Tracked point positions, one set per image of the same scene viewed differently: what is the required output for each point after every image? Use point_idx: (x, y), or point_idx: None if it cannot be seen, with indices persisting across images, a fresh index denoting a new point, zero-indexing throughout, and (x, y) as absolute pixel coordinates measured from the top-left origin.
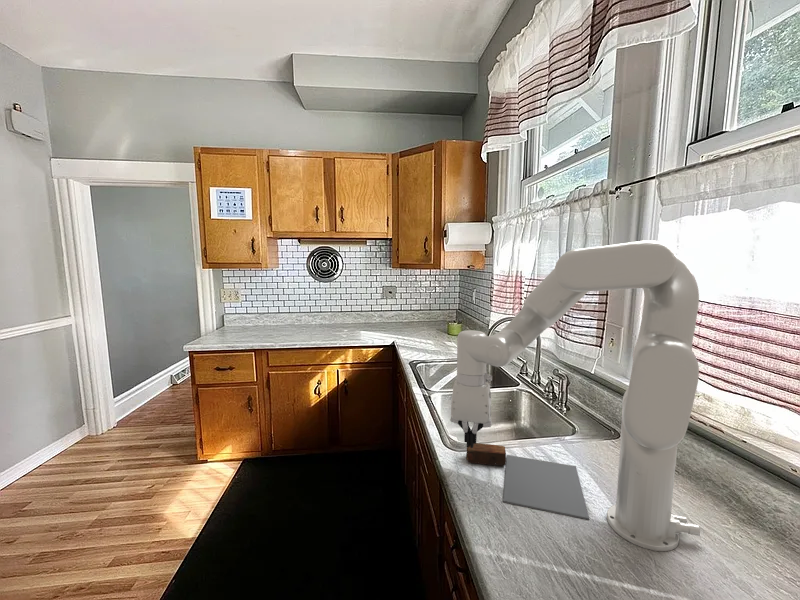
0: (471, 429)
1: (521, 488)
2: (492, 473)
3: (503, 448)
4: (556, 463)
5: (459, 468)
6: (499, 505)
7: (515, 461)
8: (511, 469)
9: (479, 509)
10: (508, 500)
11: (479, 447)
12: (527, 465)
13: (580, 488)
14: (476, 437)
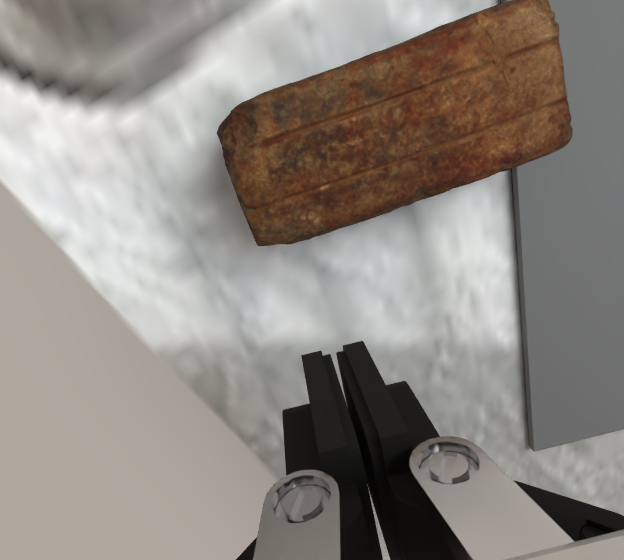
0: (372, 460)
1: (610, 321)
2: (441, 251)
3: (549, 61)
4: None
5: (243, 307)
6: (515, 471)
7: (571, 39)
8: (551, 163)
9: None
10: (555, 438)
11: (347, 159)
12: None
13: None
14: (417, 401)
